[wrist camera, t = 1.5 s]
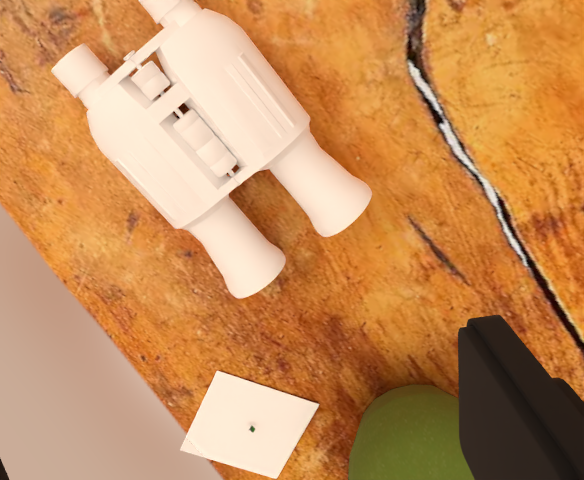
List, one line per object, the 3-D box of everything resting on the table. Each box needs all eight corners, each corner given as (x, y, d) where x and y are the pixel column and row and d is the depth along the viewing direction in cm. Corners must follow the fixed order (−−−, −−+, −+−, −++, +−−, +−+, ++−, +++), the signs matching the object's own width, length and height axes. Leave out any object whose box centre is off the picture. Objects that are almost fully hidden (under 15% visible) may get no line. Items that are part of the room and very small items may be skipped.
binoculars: (237, 279, 36) (234, 316, 31) (51, 81, 30) (16, 93, 26) (367, 182, 33) (383, 208, 29) (192, -49, 28) (179, -59, 24)
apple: (384, 484, 44) (417, 611, 34) (306, 404, 40) (319, 522, 31) (501, 415, 41) (570, 531, 32) (430, 324, 38) (484, 425, 29)
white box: (179, 450, 41) (177, 458, 40) (217, 370, 38) (216, 377, 38) (276, 478, 43) (276, 487, 42) (319, 404, 40) (320, 411, 39)
